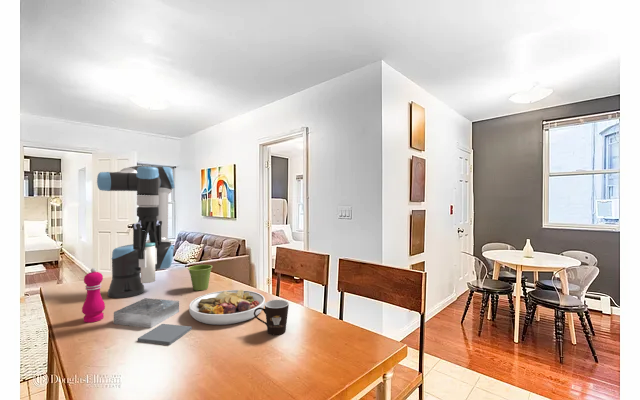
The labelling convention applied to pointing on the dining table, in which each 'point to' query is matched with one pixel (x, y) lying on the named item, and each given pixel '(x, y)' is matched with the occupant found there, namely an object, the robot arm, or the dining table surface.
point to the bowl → (226, 307)
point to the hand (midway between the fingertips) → (148, 265)
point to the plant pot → (200, 276)
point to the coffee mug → (275, 316)
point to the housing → (146, 312)
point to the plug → (149, 264)
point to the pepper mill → (93, 297)
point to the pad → (165, 334)
